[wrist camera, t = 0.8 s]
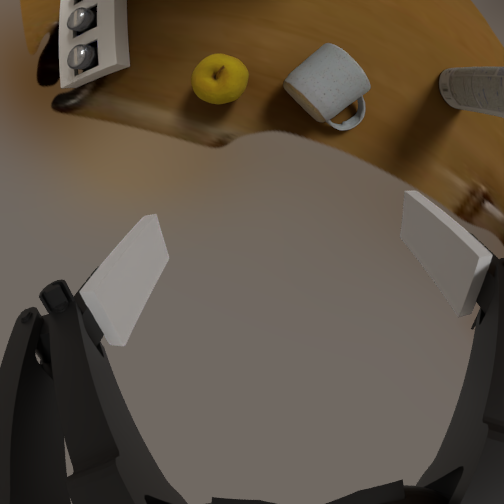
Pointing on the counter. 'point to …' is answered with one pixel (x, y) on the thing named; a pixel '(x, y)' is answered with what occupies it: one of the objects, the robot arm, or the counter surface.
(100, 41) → the console
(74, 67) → the knob
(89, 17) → the knob mid
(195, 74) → the apple
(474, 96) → the spray can
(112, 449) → the robot arm
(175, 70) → the counter surface
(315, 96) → the ceramic mug
